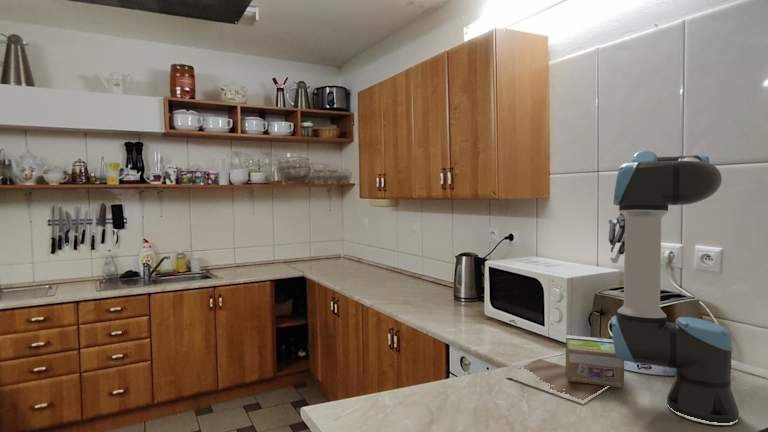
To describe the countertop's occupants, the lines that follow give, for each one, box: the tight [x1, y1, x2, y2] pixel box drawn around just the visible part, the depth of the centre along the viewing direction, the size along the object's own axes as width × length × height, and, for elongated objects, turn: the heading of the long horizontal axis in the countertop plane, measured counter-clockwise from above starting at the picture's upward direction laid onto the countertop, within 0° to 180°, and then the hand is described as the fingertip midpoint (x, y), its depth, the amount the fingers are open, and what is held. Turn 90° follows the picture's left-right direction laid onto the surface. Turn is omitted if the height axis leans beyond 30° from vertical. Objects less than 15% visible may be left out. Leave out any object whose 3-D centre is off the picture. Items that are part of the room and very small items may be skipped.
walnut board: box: [519, 358, 607, 400], centre depth 138 cm, size 24×19×1 cm
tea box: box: [565, 334, 625, 389], centre depth 138 cm, size 15×10×15 cm
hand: (613, 260), depth 150 cm, fingers closed
